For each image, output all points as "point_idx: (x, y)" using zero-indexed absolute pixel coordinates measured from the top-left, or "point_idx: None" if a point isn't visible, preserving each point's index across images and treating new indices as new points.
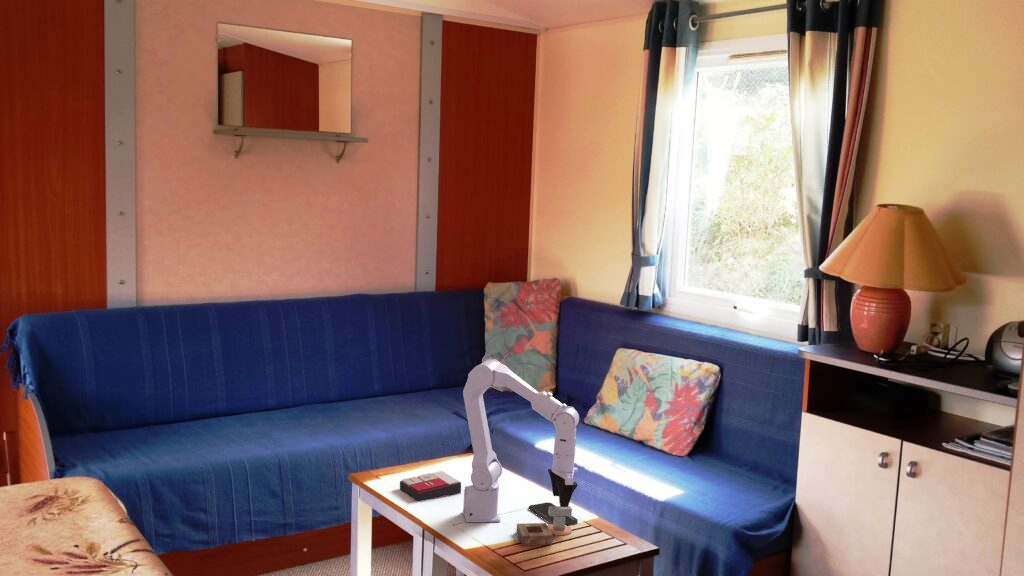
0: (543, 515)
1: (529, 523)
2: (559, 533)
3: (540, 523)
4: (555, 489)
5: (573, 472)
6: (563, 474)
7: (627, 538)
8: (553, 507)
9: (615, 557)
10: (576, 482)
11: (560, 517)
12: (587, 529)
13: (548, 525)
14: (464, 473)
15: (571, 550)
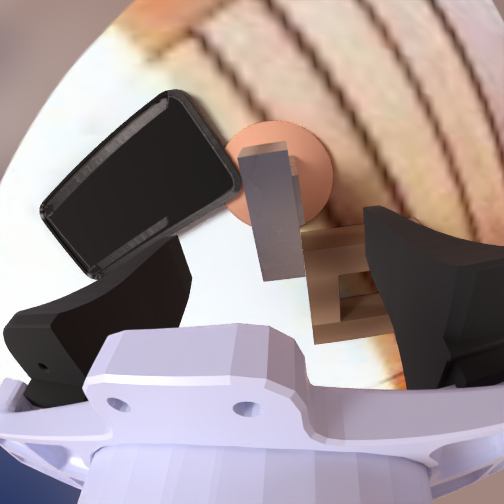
0: (151, 234)
1: (311, 310)
2: (328, 181)
3: (308, 272)
4: (176, 300)
5: (477, 432)
6: (484, 475)
7: None
8: (276, 259)
9: (497, 13)
10: (487, 264)
11: (301, 200)
12: (245, 45)
13: (246, 219)
14: (5, 367)
15: (461, 154)
